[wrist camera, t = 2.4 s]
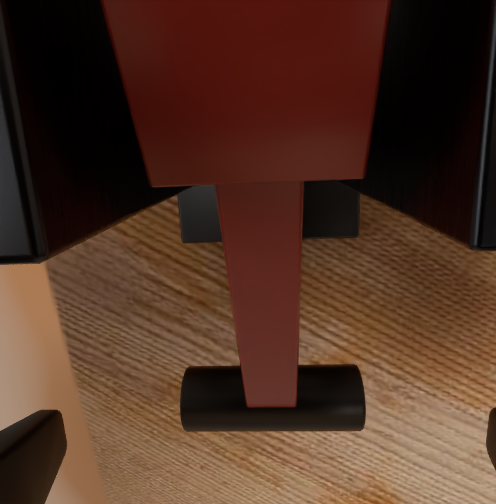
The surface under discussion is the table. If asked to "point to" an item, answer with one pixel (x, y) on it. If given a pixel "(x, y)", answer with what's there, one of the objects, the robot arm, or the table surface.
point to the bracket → (204, 197)
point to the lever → (256, 172)
